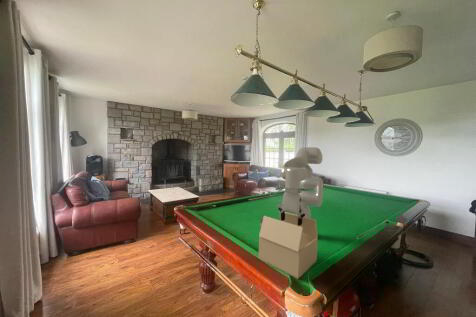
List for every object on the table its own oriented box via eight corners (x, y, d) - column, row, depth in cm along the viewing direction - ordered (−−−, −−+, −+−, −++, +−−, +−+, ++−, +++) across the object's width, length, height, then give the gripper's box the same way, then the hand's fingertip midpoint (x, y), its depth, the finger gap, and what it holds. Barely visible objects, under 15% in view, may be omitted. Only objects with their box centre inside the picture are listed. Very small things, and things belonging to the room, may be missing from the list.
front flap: (264, 215, 99) (263, 215, 98) (303, 227, 84) (302, 227, 83) (259, 236, 96) (259, 236, 95) (298, 251, 81) (298, 251, 81)
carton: (280, 246, 112) (281, 226, 112) (316, 260, 97) (317, 238, 97) (258, 259, 96) (259, 236, 96) (297, 279, 81) (299, 252, 81)
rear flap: (281, 226, 112) (281, 225, 112) (317, 238, 97) (317, 237, 97) (278, 211, 109) (279, 210, 110) (315, 220, 94) (315, 219, 95)
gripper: (311, 192, 95) (309, 225, 95) (281, 188, 107) (280, 217, 107) (304, 194, 89) (303, 229, 89) (274, 189, 101) (273, 220, 101)
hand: (290, 222), depth 98 cm, fingers open, 9 cm apart
